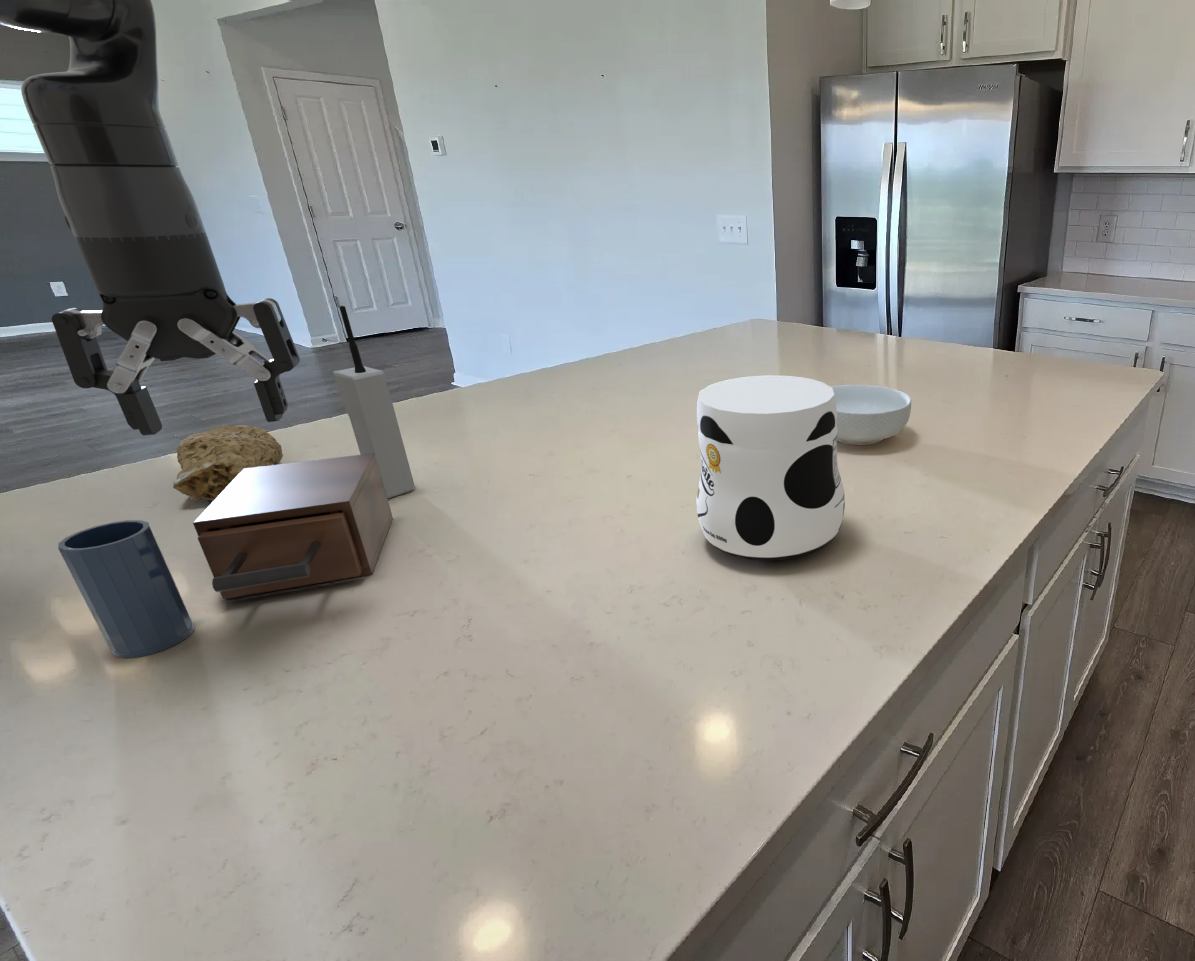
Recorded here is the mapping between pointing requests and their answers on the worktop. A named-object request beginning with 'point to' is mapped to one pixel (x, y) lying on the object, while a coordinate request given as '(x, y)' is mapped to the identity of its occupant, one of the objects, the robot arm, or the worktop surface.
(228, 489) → the cabinet
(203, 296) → the robot arm
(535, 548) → the worktop surface
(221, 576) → the drawer
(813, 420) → the milk container
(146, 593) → the utensil crock
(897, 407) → the cereal bowl
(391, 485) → the vintage mobile phone
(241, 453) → the sponge
